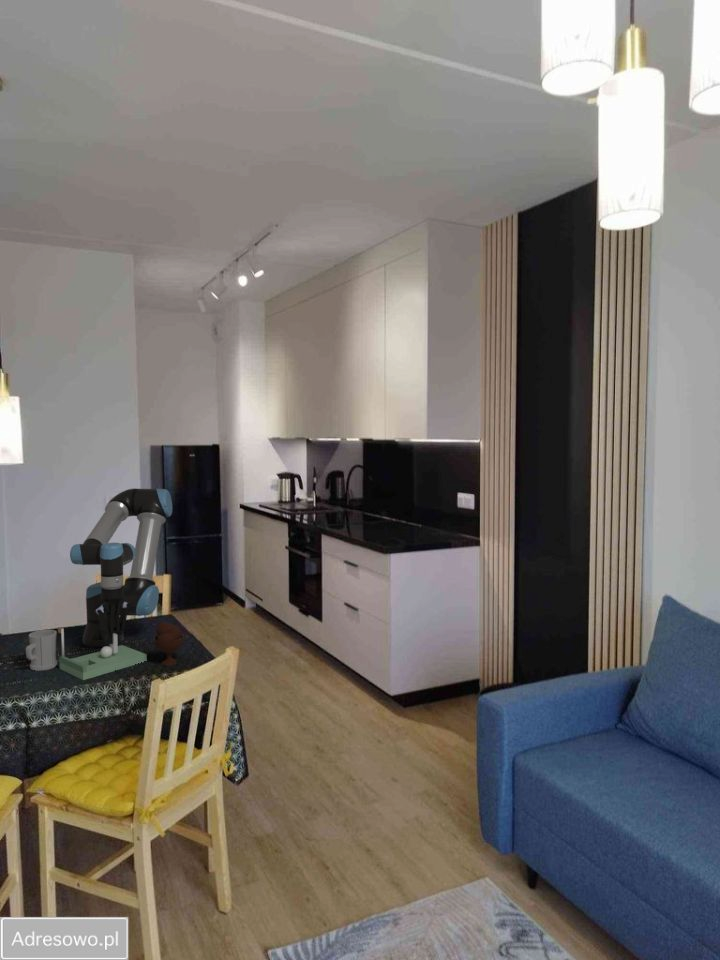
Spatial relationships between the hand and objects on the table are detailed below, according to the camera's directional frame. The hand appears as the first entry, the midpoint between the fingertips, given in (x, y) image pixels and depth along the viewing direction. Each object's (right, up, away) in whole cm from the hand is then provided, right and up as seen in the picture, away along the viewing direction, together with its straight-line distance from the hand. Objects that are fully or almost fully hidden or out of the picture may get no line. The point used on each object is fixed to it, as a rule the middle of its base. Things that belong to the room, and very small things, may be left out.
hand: (113, 651), depth 241 cm
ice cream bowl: (+20, -4, 0) cm, 20 cm away
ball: (-2, 0, -2) cm, 3 cm away
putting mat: (-3, -4, -2) cm, 5 cm away
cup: (-23, -4, -5) cm, 24 cm away
